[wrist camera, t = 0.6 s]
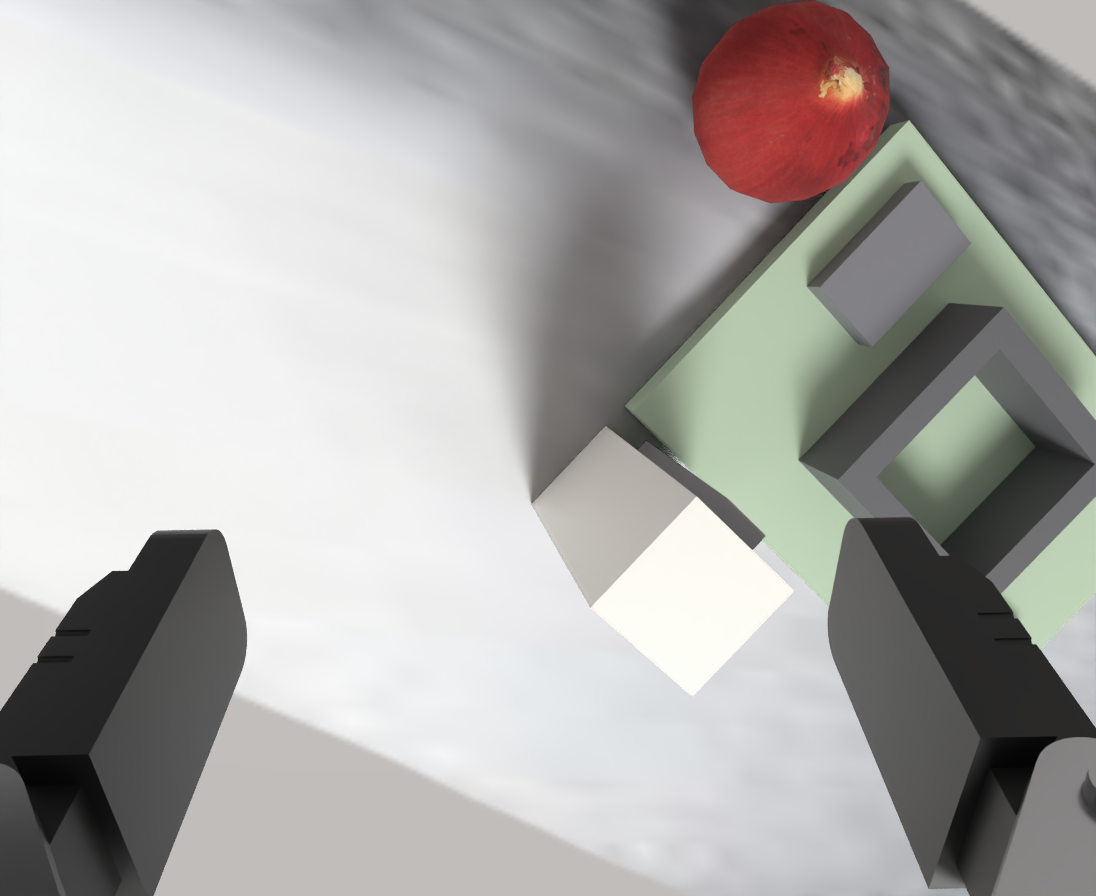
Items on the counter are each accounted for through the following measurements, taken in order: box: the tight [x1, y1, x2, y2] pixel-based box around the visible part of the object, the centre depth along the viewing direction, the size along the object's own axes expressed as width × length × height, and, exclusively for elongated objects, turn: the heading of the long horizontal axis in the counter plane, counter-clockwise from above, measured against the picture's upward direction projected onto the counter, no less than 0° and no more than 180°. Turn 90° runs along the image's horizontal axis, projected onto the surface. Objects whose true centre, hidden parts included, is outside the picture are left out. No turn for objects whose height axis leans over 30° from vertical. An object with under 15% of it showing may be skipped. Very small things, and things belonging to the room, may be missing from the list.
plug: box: [531, 426, 794, 696], centre depth 28 cm, size 4×5×10 cm
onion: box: [692, 1, 890, 203], centre depth 27 cm, size 6×6×8 cm
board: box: [625, 120, 1096, 650], centre depth 33 cm, size 20×14×4 cm
